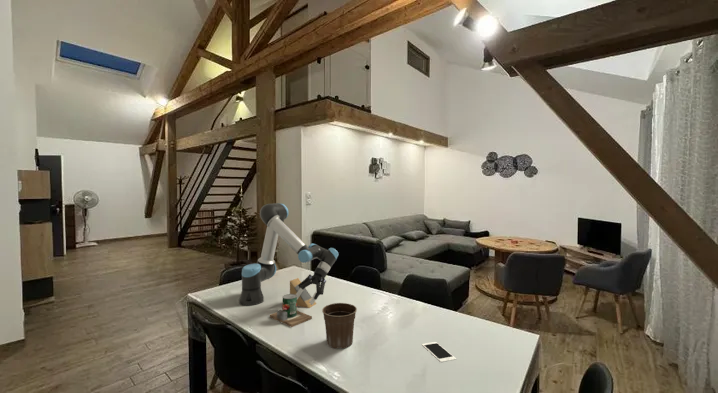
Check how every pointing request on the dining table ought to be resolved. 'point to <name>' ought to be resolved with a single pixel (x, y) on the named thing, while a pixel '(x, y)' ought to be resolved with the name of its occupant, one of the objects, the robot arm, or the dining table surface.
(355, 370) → the dining table surface
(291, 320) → the walnut board
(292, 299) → the canned tomato
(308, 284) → the robot arm
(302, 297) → the sandwich container
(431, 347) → the cell phone
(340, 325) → the plant pot
